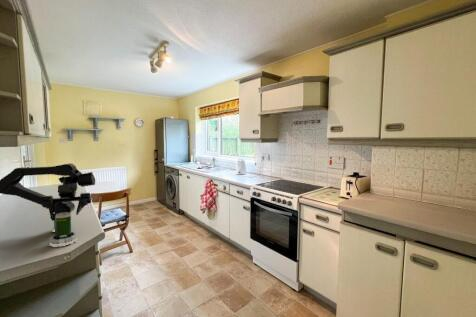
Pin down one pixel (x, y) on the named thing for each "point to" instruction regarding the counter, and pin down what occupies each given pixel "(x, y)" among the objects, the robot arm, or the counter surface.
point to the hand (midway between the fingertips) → (64, 215)
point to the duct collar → (64, 240)
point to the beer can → (63, 225)
